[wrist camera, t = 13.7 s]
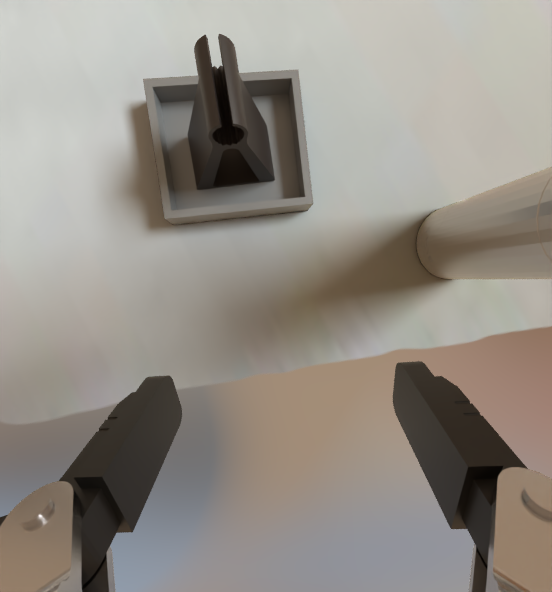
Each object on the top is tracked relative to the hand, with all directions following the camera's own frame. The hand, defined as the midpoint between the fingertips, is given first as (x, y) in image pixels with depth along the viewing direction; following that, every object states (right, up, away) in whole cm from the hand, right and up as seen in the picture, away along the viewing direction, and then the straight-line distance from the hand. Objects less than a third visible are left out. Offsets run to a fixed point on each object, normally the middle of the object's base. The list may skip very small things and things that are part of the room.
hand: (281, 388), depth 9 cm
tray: (-5, +20, +21) cm, 29 cm away
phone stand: (-5, +19, +21) cm, 29 cm away
